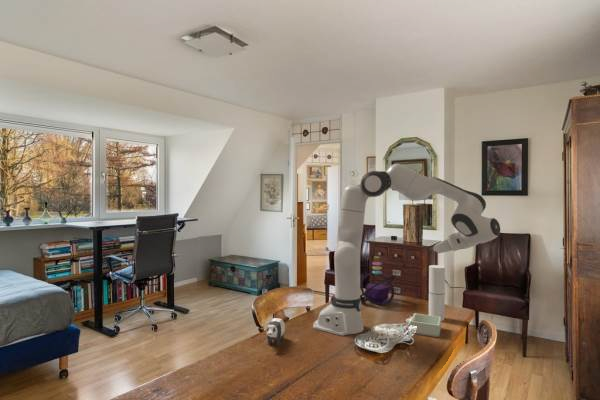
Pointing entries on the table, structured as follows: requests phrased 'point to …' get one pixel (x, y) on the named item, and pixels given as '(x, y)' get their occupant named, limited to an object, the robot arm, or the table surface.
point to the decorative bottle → (377, 287)
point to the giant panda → (275, 331)
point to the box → (426, 324)
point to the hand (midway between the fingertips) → (441, 246)
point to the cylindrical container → (437, 291)
